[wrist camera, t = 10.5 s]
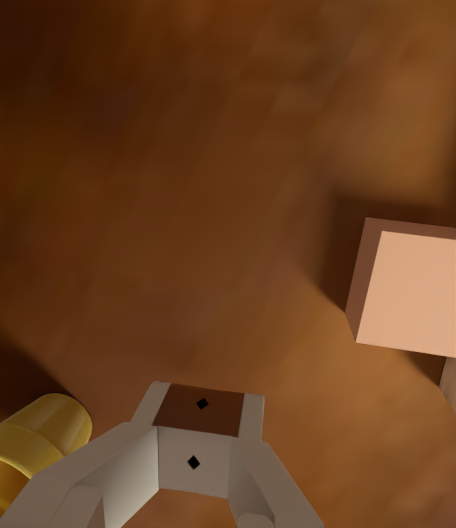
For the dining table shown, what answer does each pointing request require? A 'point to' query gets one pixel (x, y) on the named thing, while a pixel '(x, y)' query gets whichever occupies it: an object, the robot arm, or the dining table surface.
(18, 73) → the dining table surface
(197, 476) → the robot arm
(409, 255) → the peach block
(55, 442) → the plant pot
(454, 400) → the white segmented block row
